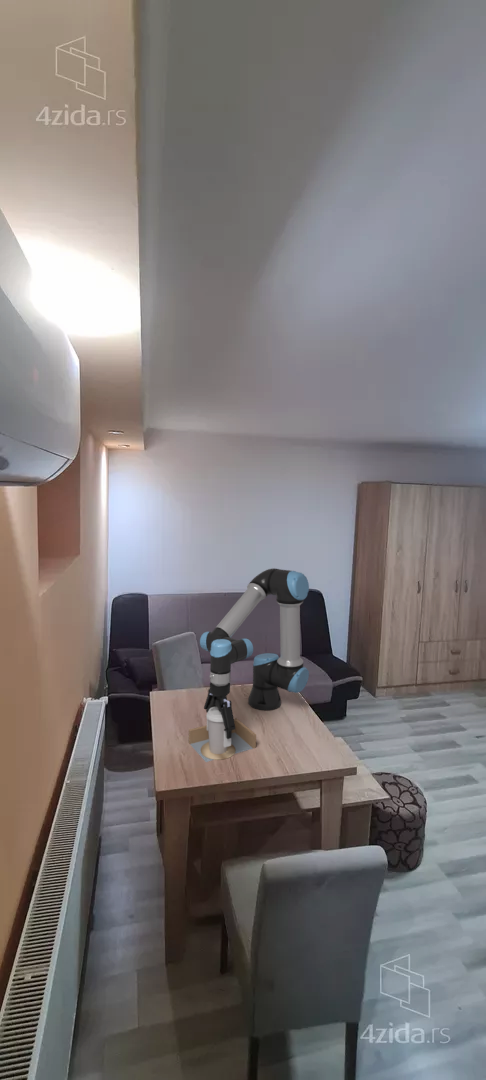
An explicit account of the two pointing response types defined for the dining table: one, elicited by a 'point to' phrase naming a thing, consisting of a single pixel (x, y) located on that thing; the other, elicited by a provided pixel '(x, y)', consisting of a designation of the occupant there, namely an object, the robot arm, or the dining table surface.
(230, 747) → the pad
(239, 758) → the dining table surface
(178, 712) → the dining table surface
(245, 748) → the tray
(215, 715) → the coffee cup
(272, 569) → the robot arm
